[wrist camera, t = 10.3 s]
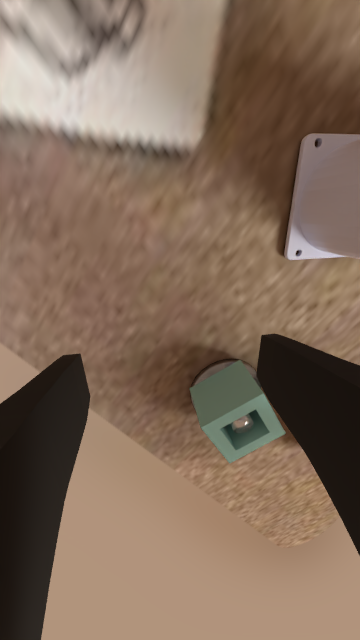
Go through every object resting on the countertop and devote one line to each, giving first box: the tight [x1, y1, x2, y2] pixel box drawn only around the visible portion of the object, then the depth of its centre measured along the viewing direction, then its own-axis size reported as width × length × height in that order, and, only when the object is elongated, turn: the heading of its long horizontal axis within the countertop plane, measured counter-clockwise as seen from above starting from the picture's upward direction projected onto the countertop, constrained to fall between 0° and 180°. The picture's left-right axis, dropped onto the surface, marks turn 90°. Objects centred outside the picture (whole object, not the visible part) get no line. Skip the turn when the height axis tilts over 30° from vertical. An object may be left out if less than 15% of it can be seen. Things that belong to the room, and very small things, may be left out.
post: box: [190, 359, 261, 433], centre depth 22 cm, size 7×7×4 cm
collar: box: [189, 360, 286, 463], centre depth 21 cm, size 5×5×4 cm
